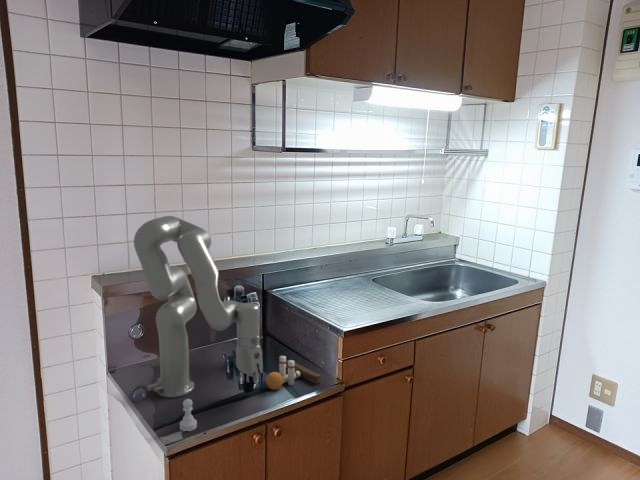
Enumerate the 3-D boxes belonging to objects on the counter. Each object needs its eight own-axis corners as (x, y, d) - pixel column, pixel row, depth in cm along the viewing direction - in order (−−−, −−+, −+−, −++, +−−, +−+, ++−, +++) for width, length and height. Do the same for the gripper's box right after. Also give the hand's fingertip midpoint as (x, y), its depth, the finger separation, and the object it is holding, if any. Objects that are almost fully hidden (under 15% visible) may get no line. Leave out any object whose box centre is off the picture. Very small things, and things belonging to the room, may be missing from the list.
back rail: (316, 384, 176) (316, 376, 176) (285, 368, 189) (285, 361, 189) (320, 383, 177) (320, 375, 177) (289, 366, 191) (289, 359, 190)
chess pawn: (190, 421, 151) (189, 393, 149) (200, 427, 147) (199, 399, 146) (176, 427, 147) (175, 399, 145) (186, 433, 144) (185, 405, 142)
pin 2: (290, 386, 175) (290, 363, 173) (286, 383, 177) (286, 361, 175) (295, 383, 176) (296, 361, 175) (291, 381, 178) (291, 359, 177)
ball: (289, 383, 172) (276, 395, 171) (281, 373, 176) (269, 385, 176) (279, 376, 168) (267, 388, 167) (272, 365, 173) (259, 378, 172)
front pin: (282, 378, 175) (301, 372, 181) (278, 376, 177) (296, 369, 182) (282, 385, 176) (300, 378, 181) (278, 382, 177) (296, 375, 183)
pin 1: (281, 381, 178) (282, 359, 177) (277, 378, 180) (277, 356, 179) (287, 379, 180) (287, 357, 179) (283, 376, 182) (283, 355, 180)
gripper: (270, 344, 161) (270, 396, 164) (245, 331, 172) (245, 380, 175) (251, 349, 156) (252, 403, 159) (226, 336, 167) (227, 386, 170)
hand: (248, 391), depth 167 cm, fingers closed
